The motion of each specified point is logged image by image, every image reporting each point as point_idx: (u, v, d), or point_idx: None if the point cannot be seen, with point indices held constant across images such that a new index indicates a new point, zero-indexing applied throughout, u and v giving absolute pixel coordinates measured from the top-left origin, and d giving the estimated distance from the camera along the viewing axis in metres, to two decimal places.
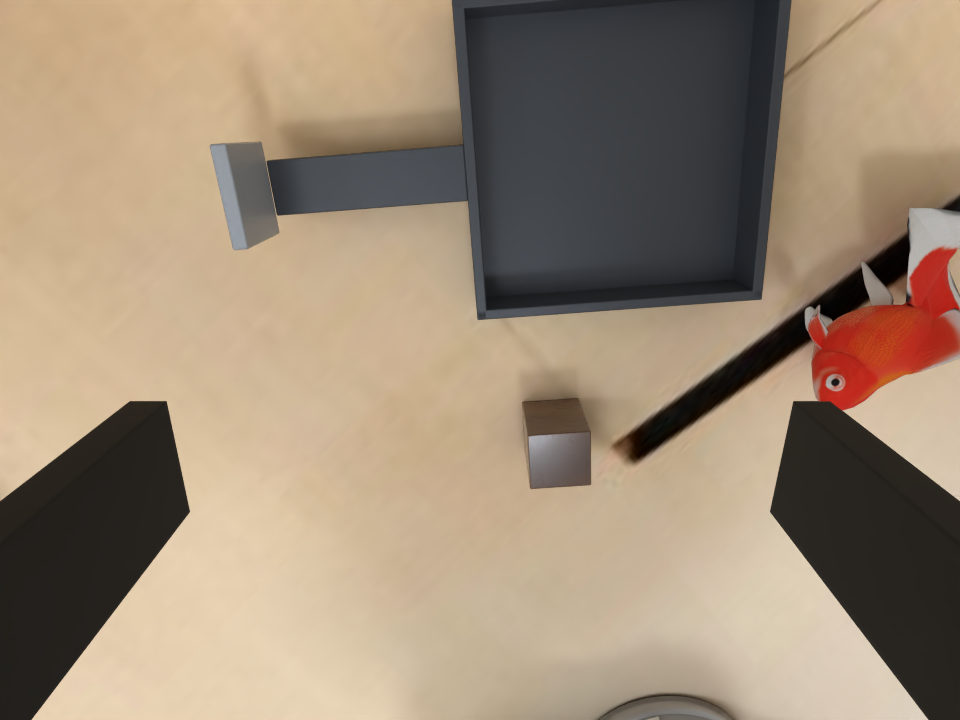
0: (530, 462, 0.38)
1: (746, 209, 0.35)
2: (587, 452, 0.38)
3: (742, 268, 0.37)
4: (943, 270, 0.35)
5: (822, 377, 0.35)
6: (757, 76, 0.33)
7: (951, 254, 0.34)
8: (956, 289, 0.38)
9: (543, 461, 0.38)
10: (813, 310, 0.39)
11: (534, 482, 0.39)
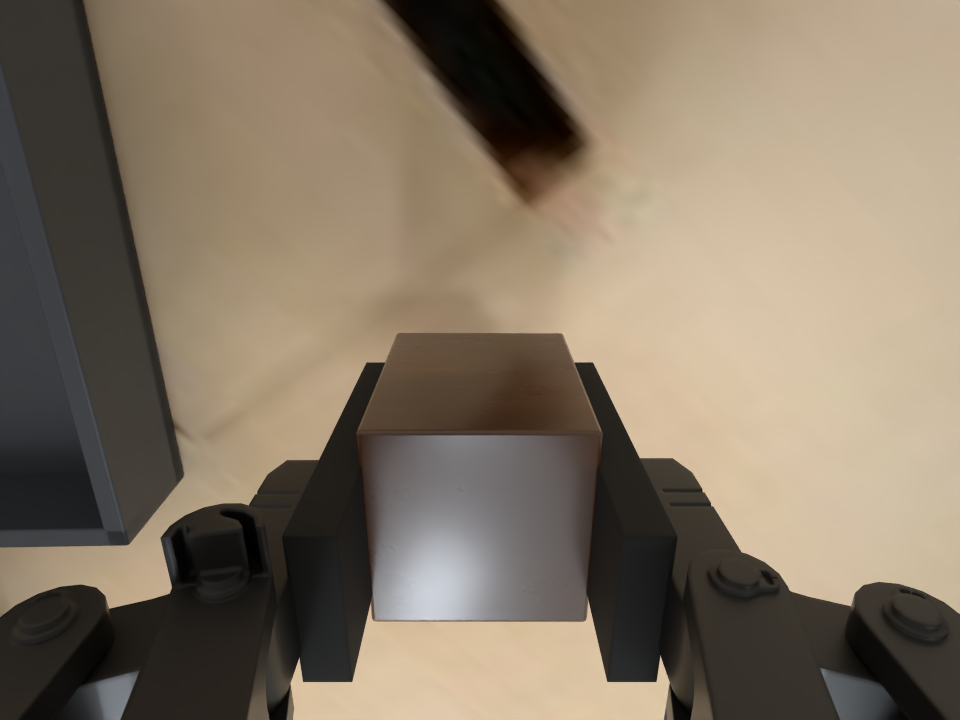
0: (477, 619, 0.11)
1: None
2: (450, 443, 0.10)
3: None
4: None
5: None
6: None
7: None
8: None
9: (477, 582, 0.11)
10: None
11: (560, 610, 0.11)
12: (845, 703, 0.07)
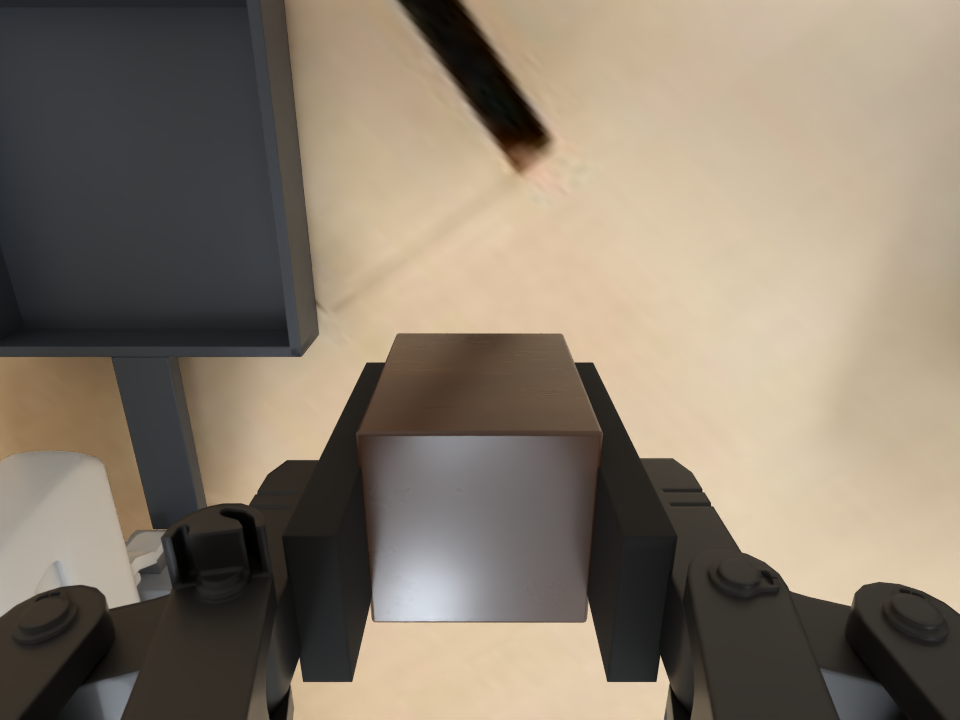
0: (477, 620, 0.11)
1: (160, 2, 0.27)
2: (450, 443, 0.10)
3: (237, 1, 0.27)
4: None
5: None
6: (1, 2, 0.27)
7: None
8: None
9: (477, 582, 0.11)
10: None
11: (561, 611, 0.11)
12: (845, 703, 0.07)
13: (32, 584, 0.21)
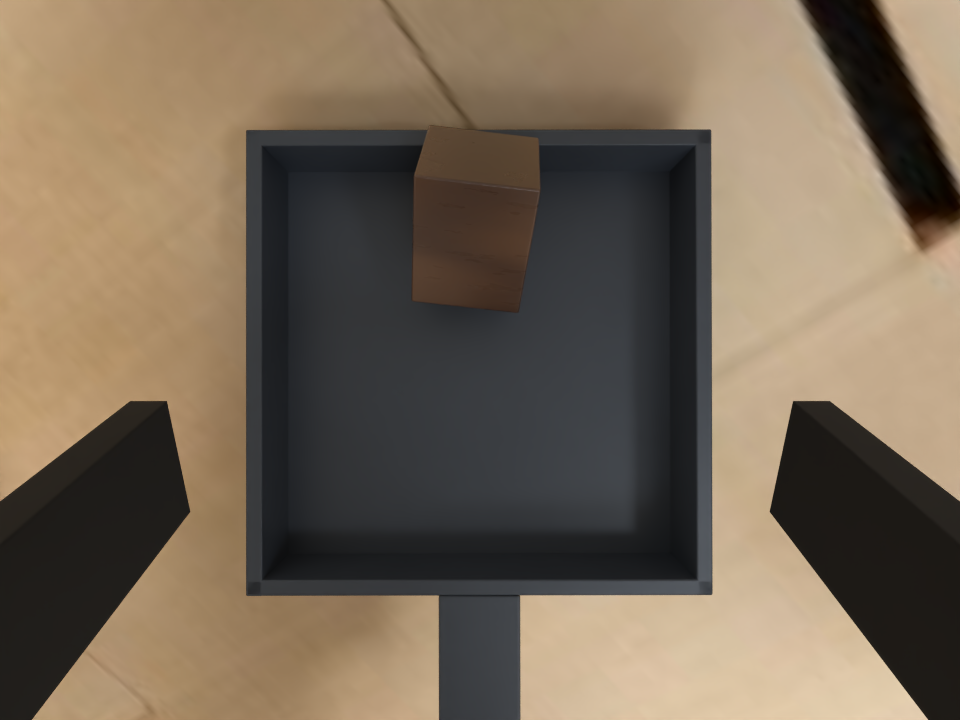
0: (476, 180, 0.18)
1: (564, 162, 0.24)
2: (470, 132, 0.21)
3: (655, 160, 0.23)
4: None
5: None
6: (383, 162, 0.24)
7: None
8: None
9: (478, 168, 0.19)
10: None
11: (525, 183, 0.19)
12: None
13: None
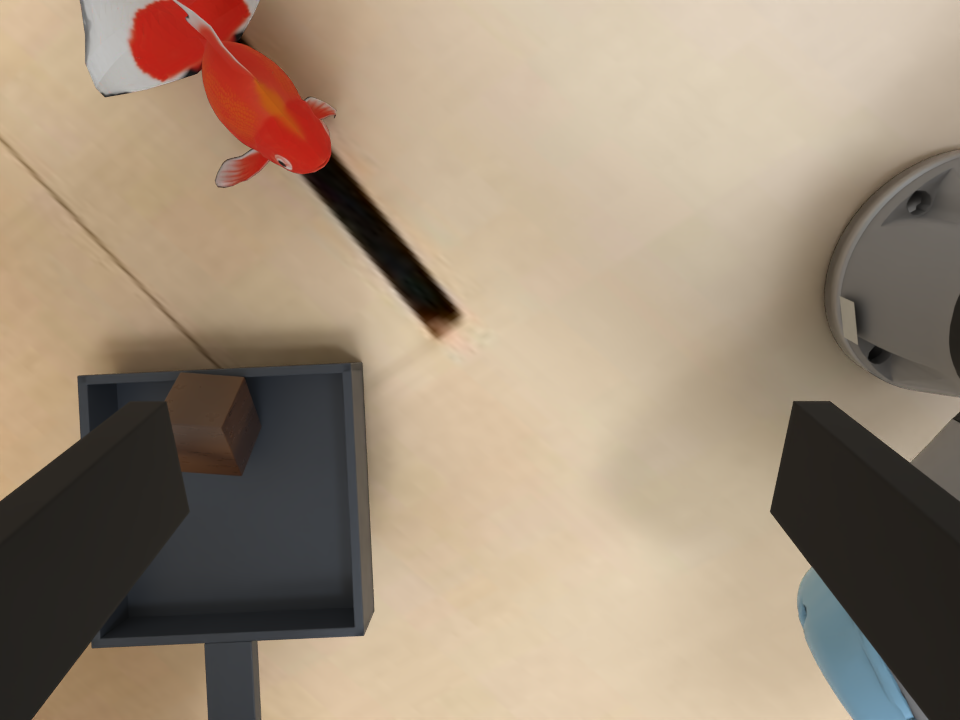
0: (186, 423, 0.34)
1: None
2: (203, 376, 0.36)
3: None
4: (175, 11, 0.30)
5: (287, 169, 0.31)
6: None
7: (144, 18, 0.29)
8: None
9: (192, 412, 0.34)
10: None
11: (214, 423, 0.34)
12: None
13: None
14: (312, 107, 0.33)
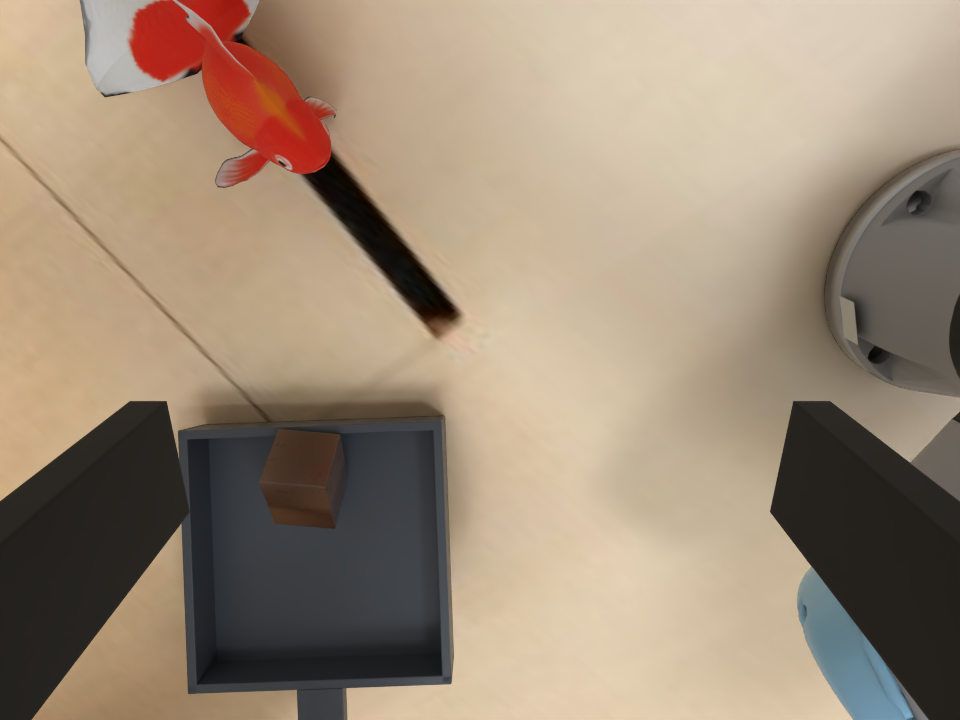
0: (291, 483, 0.35)
1: None
2: (301, 433, 0.38)
3: None
4: (175, 11, 0.30)
5: (287, 169, 0.31)
6: None
7: (144, 18, 0.29)
8: None
9: (295, 471, 0.36)
10: None
11: (318, 482, 0.35)
12: None
13: None
14: (312, 107, 0.33)
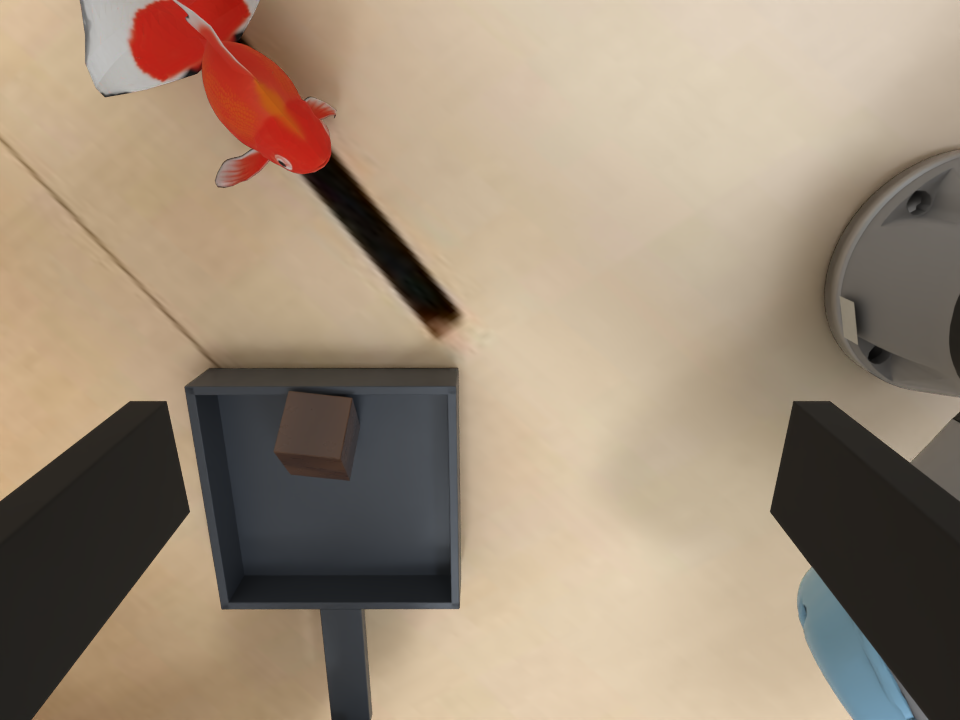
0: (306, 453, 0.35)
1: None
2: (312, 396, 0.37)
3: None
4: (175, 11, 0.30)
5: (287, 169, 0.31)
6: None
7: (144, 18, 0.29)
8: None
9: (309, 440, 0.35)
10: None
11: (333, 453, 0.35)
12: None
13: None
14: (312, 107, 0.33)
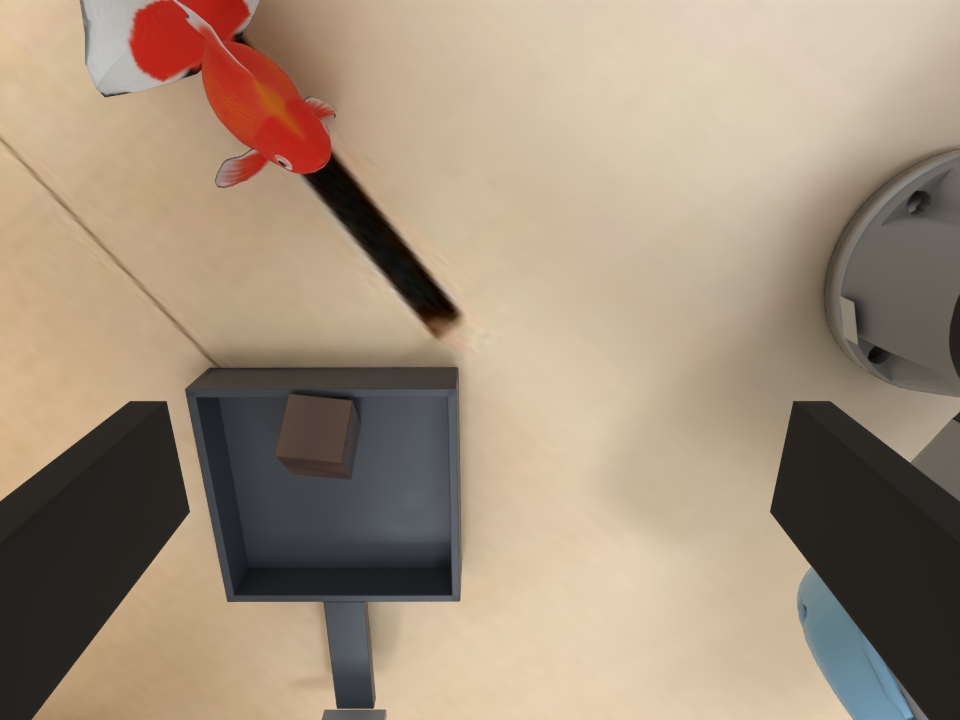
0: (307, 457, 0.35)
1: None
2: (312, 399, 0.37)
3: None
4: (175, 11, 0.30)
5: (287, 169, 0.31)
6: None
7: (144, 18, 0.29)
8: None
9: (310, 443, 0.36)
10: None
11: (334, 457, 0.35)
12: None
13: None
14: (312, 107, 0.33)
